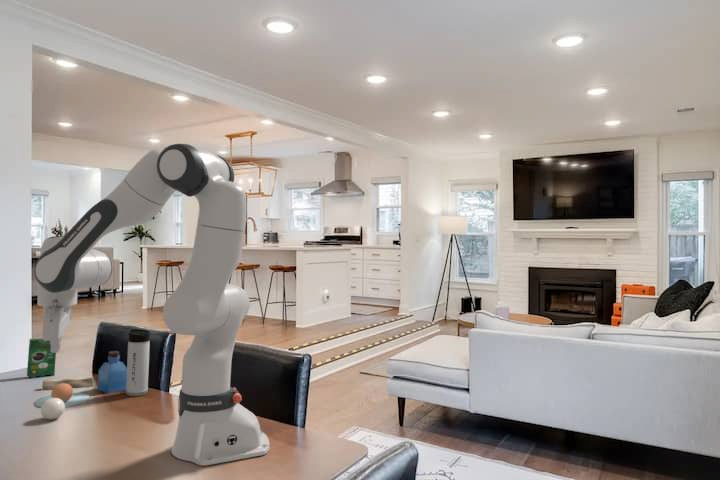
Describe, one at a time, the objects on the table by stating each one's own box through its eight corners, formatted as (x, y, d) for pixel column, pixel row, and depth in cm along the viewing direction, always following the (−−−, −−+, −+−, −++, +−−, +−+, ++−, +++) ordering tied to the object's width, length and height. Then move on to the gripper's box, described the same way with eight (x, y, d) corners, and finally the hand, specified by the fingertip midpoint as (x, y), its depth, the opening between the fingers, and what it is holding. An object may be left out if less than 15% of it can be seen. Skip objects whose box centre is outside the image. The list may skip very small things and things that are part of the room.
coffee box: (54, 373, 175) (55, 336, 175) (55, 375, 173) (57, 337, 173) (26, 376, 170) (28, 338, 170) (27, 378, 168) (29, 340, 168)
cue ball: (65, 402, 132) (66, 420, 133) (63, 392, 136) (64, 409, 137) (41, 407, 129) (42, 426, 130) (39, 396, 133) (40, 414, 134)
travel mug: (140, 389, 162) (142, 327, 162) (151, 393, 158) (154, 330, 158) (121, 393, 157) (124, 329, 157) (132, 397, 153) (135, 332, 153)
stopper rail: (92, 384, 164) (93, 377, 164) (92, 386, 163) (92, 378, 163) (43, 388, 158) (43, 380, 158) (42, 389, 157) (42, 381, 157)
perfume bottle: (127, 389, 161) (128, 352, 161) (108, 393, 156) (110, 355, 156) (115, 385, 165) (117, 349, 165) (97, 389, 160) (99, 352, 160)
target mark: (93, 392, 157) (93, 391, 157) (84, 406, 143) (84, 405, 143) (42, 394, 152) (42, 393, 152) (28, 409, 139) (28, 408, 139)
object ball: (73, 383, 146) (72, 403, 145) (73, 381, 150) (72, 399, 150) (51, 385, 143) (50, 405, 142) (52, 382, 147) (50, 402, 147)
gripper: (67, 303, 120) (64, 360, 120) (75, 293, 139) (73, 343, 139) (36, 303, 118) (33, 361, 118) (49, 293, 136) (47, 344, 136)
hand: (55, 351), depth 129 cm, fingers closed
